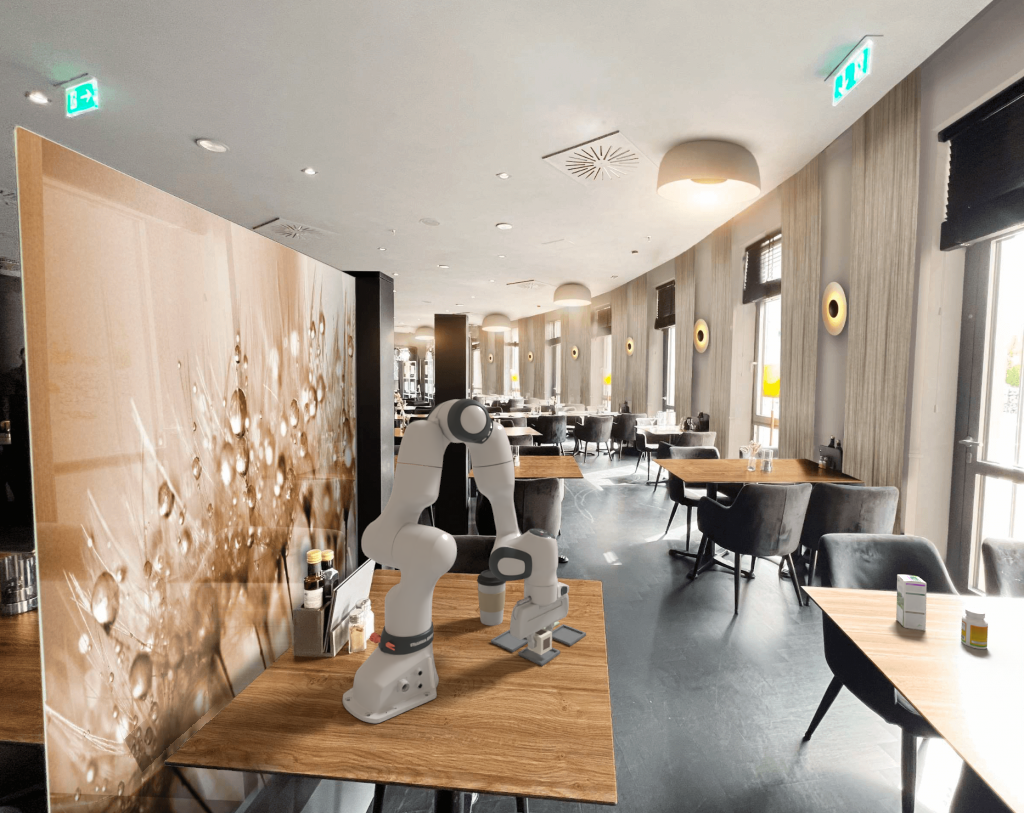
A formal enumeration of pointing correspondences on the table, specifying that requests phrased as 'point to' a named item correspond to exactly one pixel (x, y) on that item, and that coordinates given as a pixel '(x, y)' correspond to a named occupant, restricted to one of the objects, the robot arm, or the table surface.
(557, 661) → the table surface
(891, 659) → the table surface
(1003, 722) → the table surface
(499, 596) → the coffee cup
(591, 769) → the table surface
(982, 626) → the supplement bottle
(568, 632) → the tray
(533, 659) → the tray
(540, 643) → the letter cube
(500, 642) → the tray
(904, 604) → the syrup box
